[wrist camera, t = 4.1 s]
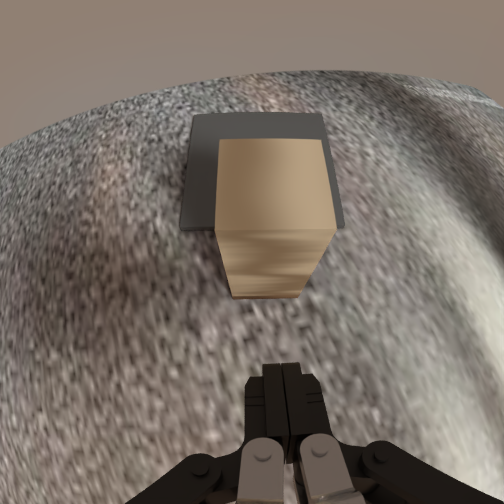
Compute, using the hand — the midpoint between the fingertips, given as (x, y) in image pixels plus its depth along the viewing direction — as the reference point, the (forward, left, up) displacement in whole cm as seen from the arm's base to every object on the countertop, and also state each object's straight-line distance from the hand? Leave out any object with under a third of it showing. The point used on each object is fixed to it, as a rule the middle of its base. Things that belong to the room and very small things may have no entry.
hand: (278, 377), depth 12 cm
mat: (0, -19, -10) cm, 21 cm away
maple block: (0, -8, -10) cm, 13 cm away
